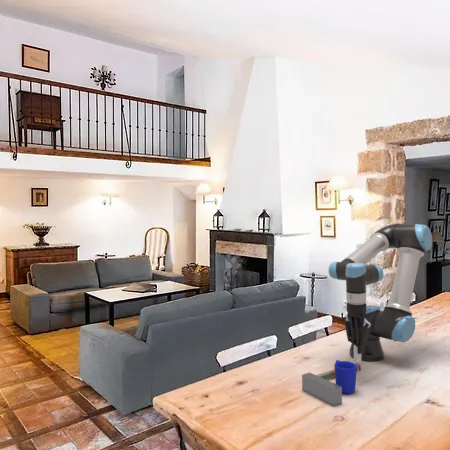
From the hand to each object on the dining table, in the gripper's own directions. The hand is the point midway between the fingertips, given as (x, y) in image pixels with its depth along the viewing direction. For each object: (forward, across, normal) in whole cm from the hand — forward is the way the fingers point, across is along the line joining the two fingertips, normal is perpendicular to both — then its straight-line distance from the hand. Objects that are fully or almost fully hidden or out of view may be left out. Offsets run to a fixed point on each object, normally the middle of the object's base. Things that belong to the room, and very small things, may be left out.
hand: (357, 360), depth 170 cm
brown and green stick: (+8, -8, -5) cm, 12 cm away
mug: (+8, +2, -11) cm, 13 cm away
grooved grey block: (+7, +2, -23) cm, 24 cm away
